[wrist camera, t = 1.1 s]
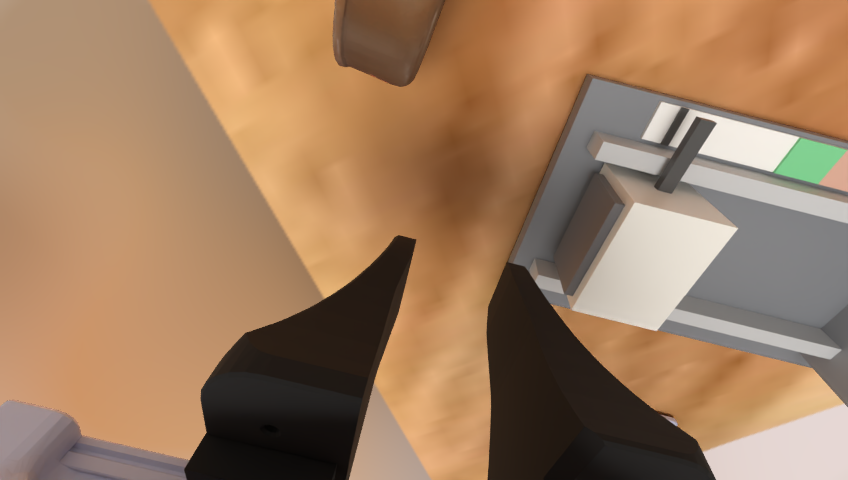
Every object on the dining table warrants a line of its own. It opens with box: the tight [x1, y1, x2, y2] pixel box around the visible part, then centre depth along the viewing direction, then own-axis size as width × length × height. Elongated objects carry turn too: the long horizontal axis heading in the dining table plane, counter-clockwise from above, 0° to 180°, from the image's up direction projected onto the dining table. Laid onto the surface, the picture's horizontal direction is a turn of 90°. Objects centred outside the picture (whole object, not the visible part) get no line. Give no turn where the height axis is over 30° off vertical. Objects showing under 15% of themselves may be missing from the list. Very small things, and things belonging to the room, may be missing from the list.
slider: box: [553, 116, 738, 331], centre depth 17 cm, size 9×4×4 cm, turn 168°
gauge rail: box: [508, 74, 848, 407], centre depth 17 cm, size 12×20×7 cm, turn 78°
